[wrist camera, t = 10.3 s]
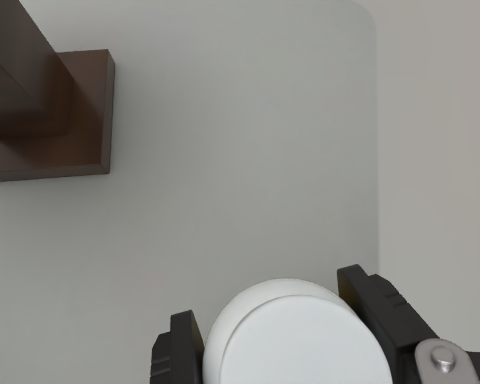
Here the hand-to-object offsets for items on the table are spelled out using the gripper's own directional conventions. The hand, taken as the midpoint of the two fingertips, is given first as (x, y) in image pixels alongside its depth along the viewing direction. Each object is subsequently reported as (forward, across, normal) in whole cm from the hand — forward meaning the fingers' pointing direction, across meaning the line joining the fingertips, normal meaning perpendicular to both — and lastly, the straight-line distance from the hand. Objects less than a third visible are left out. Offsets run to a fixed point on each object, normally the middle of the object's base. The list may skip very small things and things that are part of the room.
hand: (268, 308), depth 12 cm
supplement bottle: (+3, 0, +5) cm, 6 cm away
